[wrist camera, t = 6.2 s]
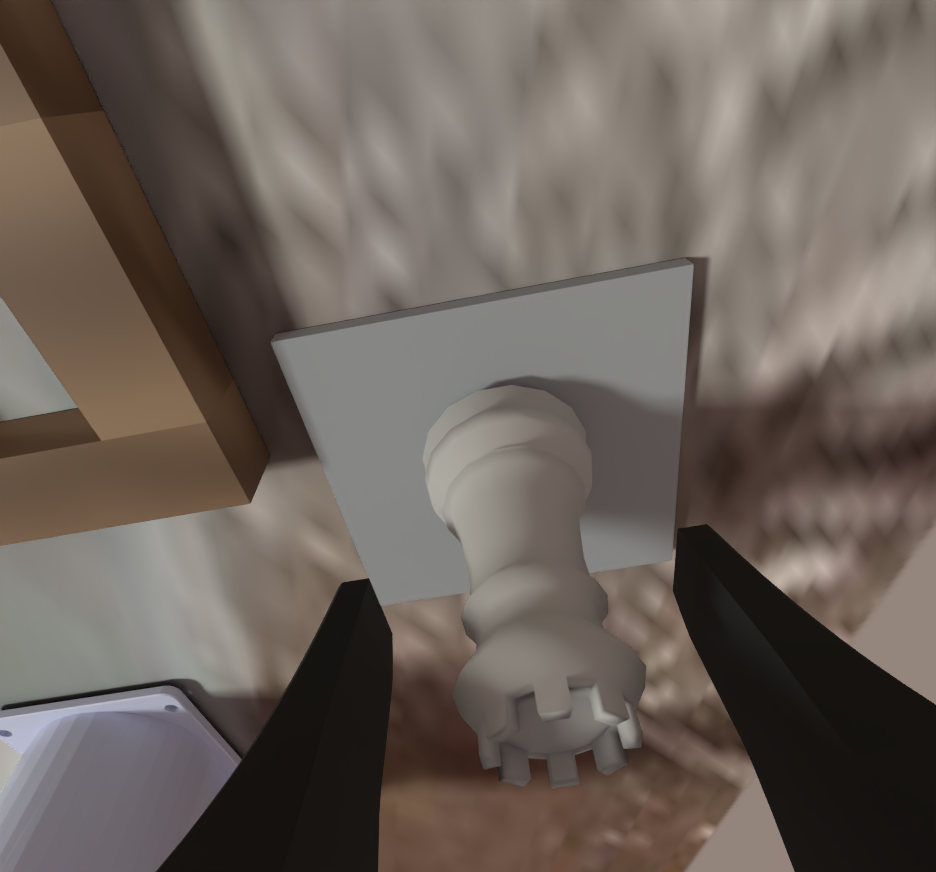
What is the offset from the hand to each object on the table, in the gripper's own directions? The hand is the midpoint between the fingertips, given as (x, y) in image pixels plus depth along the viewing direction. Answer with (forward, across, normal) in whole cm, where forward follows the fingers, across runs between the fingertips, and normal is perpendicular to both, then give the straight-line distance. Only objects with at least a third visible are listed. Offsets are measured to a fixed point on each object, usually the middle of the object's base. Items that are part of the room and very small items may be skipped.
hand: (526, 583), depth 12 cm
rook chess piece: (+4, 0, -1) cm, 4 cm away
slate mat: (+5, 0, 0) cm, 5 cm away
